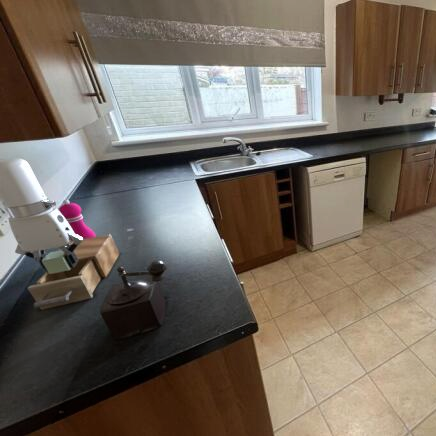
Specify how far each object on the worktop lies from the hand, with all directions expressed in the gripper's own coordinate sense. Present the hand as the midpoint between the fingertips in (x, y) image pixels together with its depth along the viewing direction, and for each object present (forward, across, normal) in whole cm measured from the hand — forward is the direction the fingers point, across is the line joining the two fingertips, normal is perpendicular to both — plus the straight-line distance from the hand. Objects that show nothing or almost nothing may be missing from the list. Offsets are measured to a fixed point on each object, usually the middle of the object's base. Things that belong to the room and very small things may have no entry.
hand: (62, 266), depth 76 cm
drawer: (+9, 0, +1) cm, 9 cm away
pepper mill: (+10, +8, -32) cm, 35 cm away
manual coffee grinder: (+10, -23, +20) cm, 32 cm away
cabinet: (+10, 0, -12) cm, 15 cm away
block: (0, 0, 0) cm, 0 cm away
